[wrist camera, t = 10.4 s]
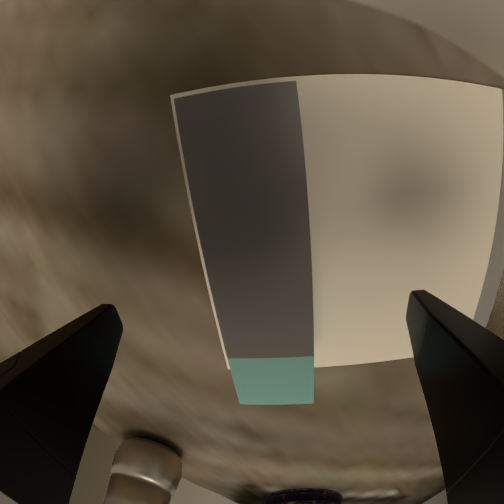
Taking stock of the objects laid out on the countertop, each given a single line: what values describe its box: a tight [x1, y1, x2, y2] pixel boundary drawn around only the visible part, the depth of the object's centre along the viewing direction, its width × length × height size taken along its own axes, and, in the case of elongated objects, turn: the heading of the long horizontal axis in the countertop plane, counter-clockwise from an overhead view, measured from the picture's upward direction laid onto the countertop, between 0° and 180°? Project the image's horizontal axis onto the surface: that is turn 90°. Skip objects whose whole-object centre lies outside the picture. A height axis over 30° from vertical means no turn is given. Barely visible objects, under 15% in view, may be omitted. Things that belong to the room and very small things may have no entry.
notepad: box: [170, 74, 504, 369], centre depth 13 cm, size 15×14×1 cm
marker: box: [174, 81, 314, 405], centre depth 11 cm, size 3×12×4 cm, turn 8°
